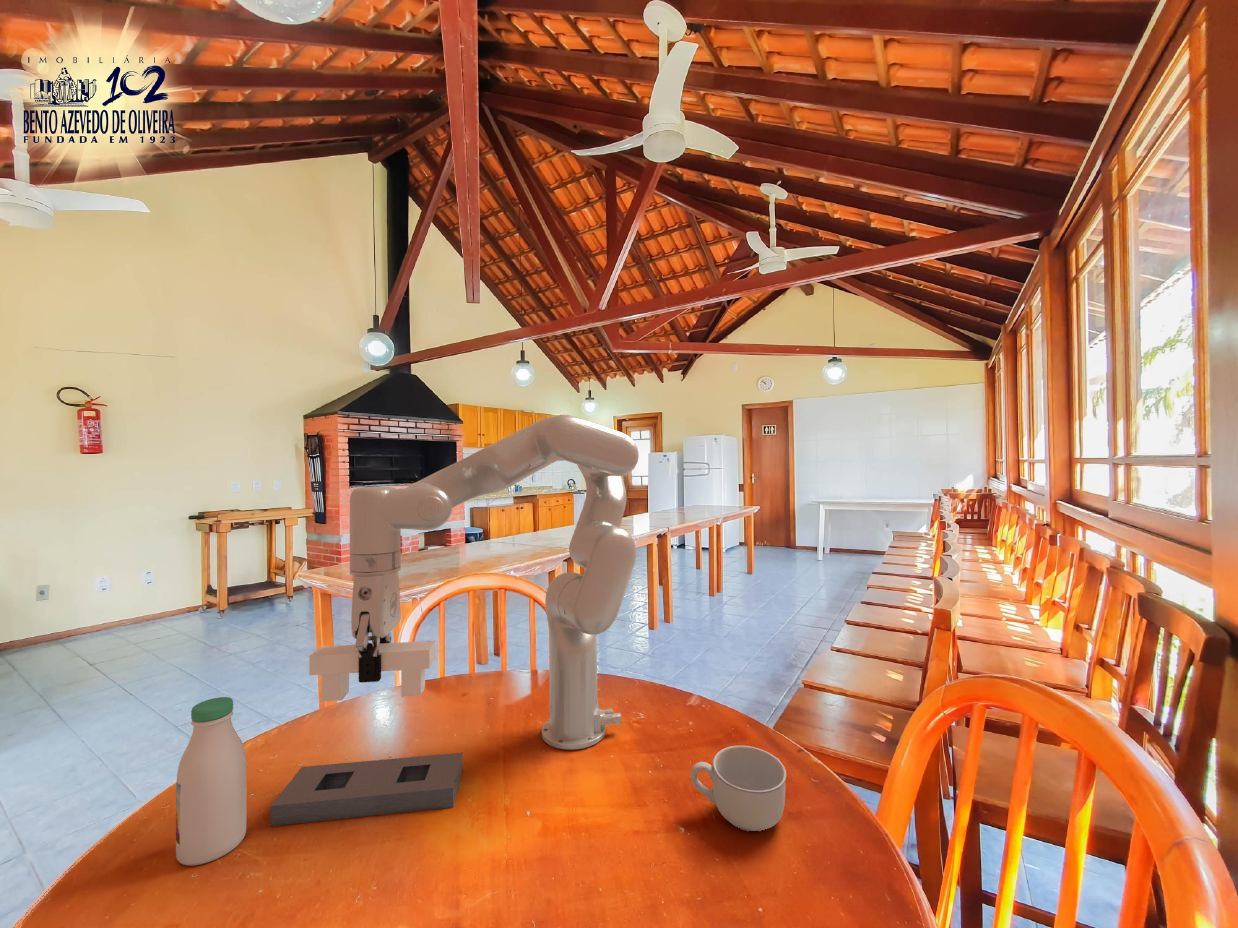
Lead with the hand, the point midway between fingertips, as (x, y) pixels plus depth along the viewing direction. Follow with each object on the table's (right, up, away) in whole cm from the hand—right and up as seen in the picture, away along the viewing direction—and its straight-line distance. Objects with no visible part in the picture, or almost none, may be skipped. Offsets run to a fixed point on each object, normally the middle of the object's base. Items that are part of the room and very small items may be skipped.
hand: (375, 673), depth 83 cm
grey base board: (0, -19, -1) cm, 19 cm away
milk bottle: (-17, -20, -12) cm, 29 cm away
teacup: (+58, -19, -6) cm, 61 cm away
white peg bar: (0, -3, 0) cm, 3 cm away
